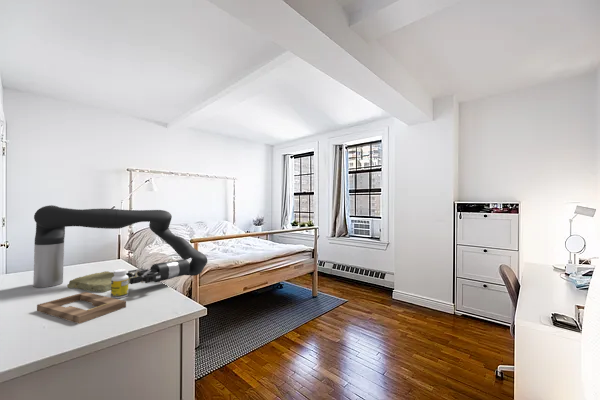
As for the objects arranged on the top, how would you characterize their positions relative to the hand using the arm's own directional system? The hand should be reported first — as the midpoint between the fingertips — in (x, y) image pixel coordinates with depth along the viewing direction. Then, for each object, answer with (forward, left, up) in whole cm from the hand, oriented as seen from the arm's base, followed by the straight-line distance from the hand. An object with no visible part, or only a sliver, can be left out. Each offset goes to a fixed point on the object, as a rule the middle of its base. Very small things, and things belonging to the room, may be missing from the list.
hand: (124, 279), depth 103 cm
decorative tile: (-21, +6, -7) cm, 23 cm away
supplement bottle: (0, -2, -6) cm, 6 cm away
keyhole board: (+1, -15, -6) cm, 16 cm away
